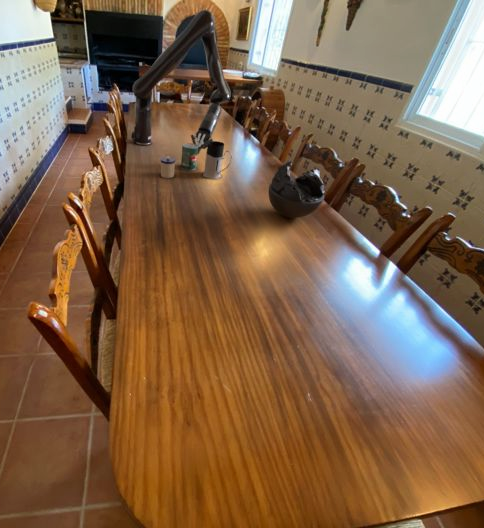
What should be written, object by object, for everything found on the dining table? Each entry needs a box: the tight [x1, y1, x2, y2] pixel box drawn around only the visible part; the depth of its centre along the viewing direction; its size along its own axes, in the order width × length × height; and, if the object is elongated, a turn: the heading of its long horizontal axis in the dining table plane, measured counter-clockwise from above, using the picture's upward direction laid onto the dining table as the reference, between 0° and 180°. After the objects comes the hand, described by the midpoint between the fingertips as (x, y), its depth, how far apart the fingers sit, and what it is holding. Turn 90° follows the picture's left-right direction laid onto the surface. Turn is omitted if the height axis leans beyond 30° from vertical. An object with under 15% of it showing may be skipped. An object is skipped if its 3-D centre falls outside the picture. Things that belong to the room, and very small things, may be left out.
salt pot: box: [160, 155, 176, 179], centre depth 139 cm, size 7×7×9 cm
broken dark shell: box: [267, 161, 325, 219], centre depth 111 cm, size 20×20×19 cm
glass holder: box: [202, 140, 233, 180], centre depth 138 cm, size 9×14×15 cm, turn 44°
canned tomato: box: [180, 142, 199, 172], centre depth 147 cm, size 8×8×11 cm
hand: (195, 154), depth 152 cm, fingers closed
